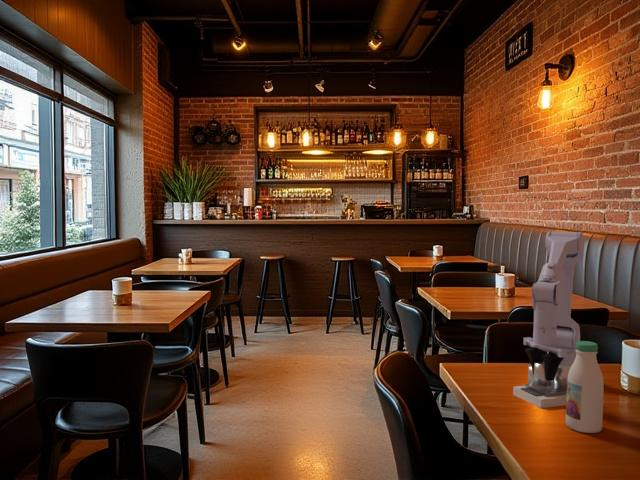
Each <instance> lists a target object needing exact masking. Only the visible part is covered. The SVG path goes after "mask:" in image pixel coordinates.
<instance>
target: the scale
mask: <svg viewBox="0 0 640 480" xmlns="http://www.w3.org/2000/svg"><path fill="white" fill-rule="evenodd" d="M512 389H513V390H512V394H513V396H515V397H518V398H519V399H521V400H523V401H525V402H527V403H530V404H531V405H533V406H535V407H537V408H539V409H543V408H544V409H545V408H554V407H555V408H556V407H561V406H566V399H567V393H566V394H558V395H549V396H545V395H543V394H540V393H538V392H536V391H534V390H532V389H530V388H527V387H525V385H518V386H517V385H516V386H513V388H512Z"/></svg>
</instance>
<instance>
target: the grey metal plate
mask: <svg viewBox="0 0 640 480" xmlns="http://www.w3.org/2000/svg"><path fill="white" fill-rule="evenodd" d="M525 387H527V388H530V389H532V390H534V391H536V392H538V393H540V394H543V395H545V396H549V395H558V394H566V393H567V389H563V388H557V387H554V386H553V381H552V383H551V386H538V385H535V384H528V383H527V384H525Z"/></svg>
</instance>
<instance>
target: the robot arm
mask: <svg viewBox="0 0 640 480" xmlns="http://www.w3.org/2000/svg"><path fill="white" fill-rule="evenodd" d="M544 241H545V242H544V243H545V245H544V246H545V250H546V252H547V255H548V256H549V257H548V262H547V263H545V264H543V266H542V269H541V271H540V274H539V277H538V280H537V281H536V282H534V283H533V284H532V287H531V301H532V309H533V328H532V329H533V332H532V337H531V336H530V337H529V336H527V337H523V346H528V347H527V348H525V349H524V352H525V353H526V355H527V357H528V360H529V362H530V365H531V367H532V371H533V375H534V362H536V361H544V365H545V378H546V380H547V381H553V380H554V378H555V375H556V372H557V369H558V367H559V365H560V364H566V365H569V366H572V364H573V363H574V360H575V358H576V354H577V352H576V342H578V341H581V328H580V325H579V323H577V322H576V321H575V320H574V319H573V318H572V317H571V314H572V304H573V303H572V301H573V289H574V288H573V287H574V275H575V268H576V265H577V263H578V262H581V261H583V257H584V248H585V235H584V233H583V232H582V231H579V232H577V231H575V232H574V231H573V232H572V231H552V230H548V232H547V233H546V235H545V240H544ZM562 327H563V328H562ZM546 352H547V353H546Z"/></svg>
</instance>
